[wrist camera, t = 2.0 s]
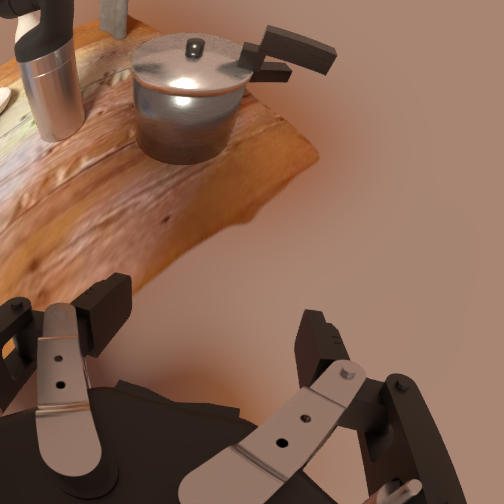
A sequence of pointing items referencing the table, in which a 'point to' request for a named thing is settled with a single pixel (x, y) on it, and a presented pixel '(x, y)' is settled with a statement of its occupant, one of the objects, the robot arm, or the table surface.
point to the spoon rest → (4, 97)
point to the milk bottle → (25, 24)
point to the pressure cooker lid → (220, 61)
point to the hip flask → (113, 17)
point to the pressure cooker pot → (191, 120)
